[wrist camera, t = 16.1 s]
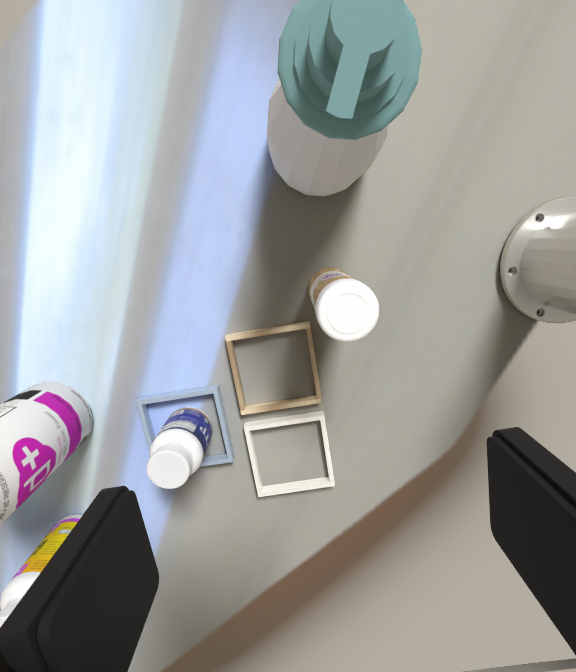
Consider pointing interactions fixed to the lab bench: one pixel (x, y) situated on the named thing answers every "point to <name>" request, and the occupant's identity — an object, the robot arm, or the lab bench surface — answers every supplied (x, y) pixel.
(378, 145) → the soap bottle
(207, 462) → the tray slate
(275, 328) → the tray birch
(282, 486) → the tray white
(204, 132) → the lab bench surface
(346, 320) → the sprinkles bottle
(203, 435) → the pill bottle
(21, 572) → the supplement bottle
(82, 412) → the supplement can
